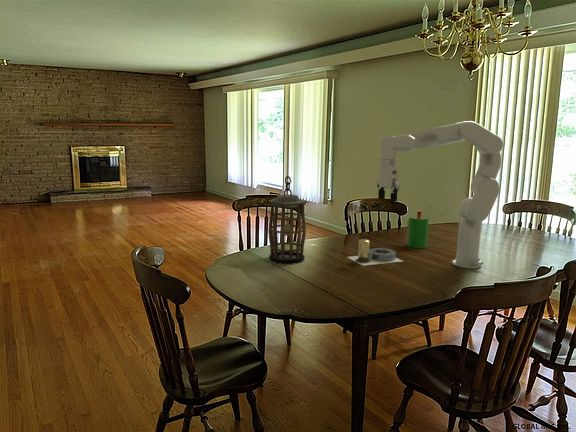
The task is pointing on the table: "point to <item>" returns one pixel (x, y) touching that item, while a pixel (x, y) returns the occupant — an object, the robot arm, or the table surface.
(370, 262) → the base plate
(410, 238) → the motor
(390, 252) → the ring
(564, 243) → the table surface
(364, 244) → the brass round-ended cylinder
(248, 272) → the table surface
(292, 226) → the lantern
